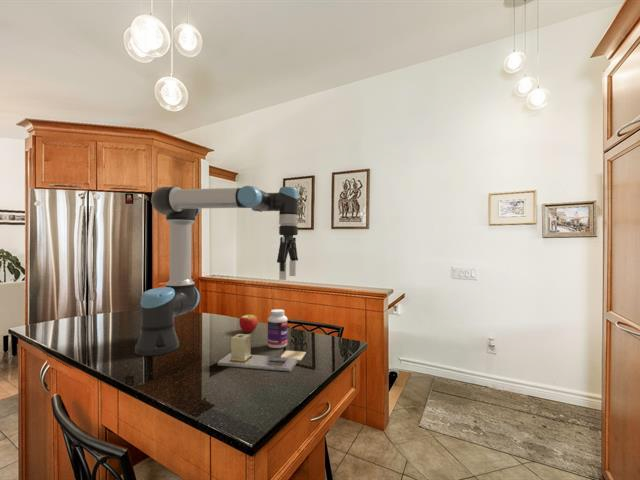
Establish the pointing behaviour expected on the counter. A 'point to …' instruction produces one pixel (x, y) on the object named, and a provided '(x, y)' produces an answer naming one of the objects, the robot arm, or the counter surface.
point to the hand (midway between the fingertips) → (288, 277)
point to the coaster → (294, 354)
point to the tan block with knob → (241, 348)
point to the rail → (261, 362)
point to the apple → (248, 323)
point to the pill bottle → (277, 329)
